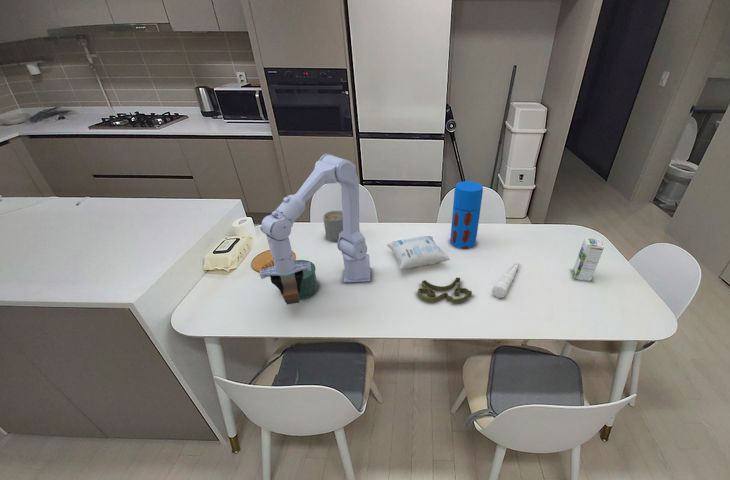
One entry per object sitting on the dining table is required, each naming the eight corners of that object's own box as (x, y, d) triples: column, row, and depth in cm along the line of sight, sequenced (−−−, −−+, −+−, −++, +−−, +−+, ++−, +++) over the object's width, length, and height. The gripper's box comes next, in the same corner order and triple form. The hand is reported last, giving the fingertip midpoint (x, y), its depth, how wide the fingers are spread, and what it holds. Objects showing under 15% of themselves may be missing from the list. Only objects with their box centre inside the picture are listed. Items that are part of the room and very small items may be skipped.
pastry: (265, 278, 128) (263, 269, 126) (259, 270, 132) (256, 261, 130) (290, 269, 133) (287, 260, 130) (282, 261, 137) (280, 253, 135)
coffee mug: (324, 241, 149) (321, 220, 143) (328, 230, 157) (325, 210, 151) (356, 241, 150) (353, 220, 144) (358, 230, 158) (356, 210, 152)
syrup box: (572, 270, 133) (583, 237, 124) (588, 272, 132) (601, 238, 123) (574, 279, 128) (586, 245, 120) (591, 281, 127) (605, 247, 119)
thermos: (477, 249, 145) (485, 191, 130) (451, 249, 145) (456, 191, 130) (473, 236, 154) (480, 181, 139) (449, 236, 154) (454, 180, 139)
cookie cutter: (464, 281, 127) (465, 276, 126) (473, 302, 118) (474, 297, 116) (415, 285, 125) (415, 280, 124) (421, 306, 116) (421, 302, 114)
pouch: (433, 228, 143) (386, 233, 138) (452, 252, 129) (400, 259, 124) (431, 244, 148) (386, 250, 143) (449, 269, 134) (399, 277, 129)
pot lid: (317, 261, 125) (316, 254, 123) (313, 282, 115) (311, 274, 113) (281, 263, 124) (279, 255, 122) (273, 284, 114) (271, 276, 112)
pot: (319, 278, 128) (316, 261, 124) (315, 298, 119) (311, 280, 115) (287, 279, 127) (282, 262, 123) (280, 299, 118) (275, 282, 114)
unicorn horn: (527, 268, 134) (530, 257, 131) (503, 300, 118) (505, 289, 116) (515, 264, 136) (517, 253, 133) (490, 295, 121) (492, 284, 118)
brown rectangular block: (300, 302, 108) (297, 293, 106) (285, 305, 107) (283, 295, 104) (298, 286, 115) (296, 276, 112) (284, 288, 114) (282, 279, 111)
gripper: (306, 244, 107) (313, 280, 115) (256, 252, 103) (267, 288, 111) (308, 256, 101) (315, 293, 109) (255, 264, 98) (267, 302, 106)
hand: (291, 291), depth 110 cm, fingers closed on brown rectangular block, 4 cm apart
